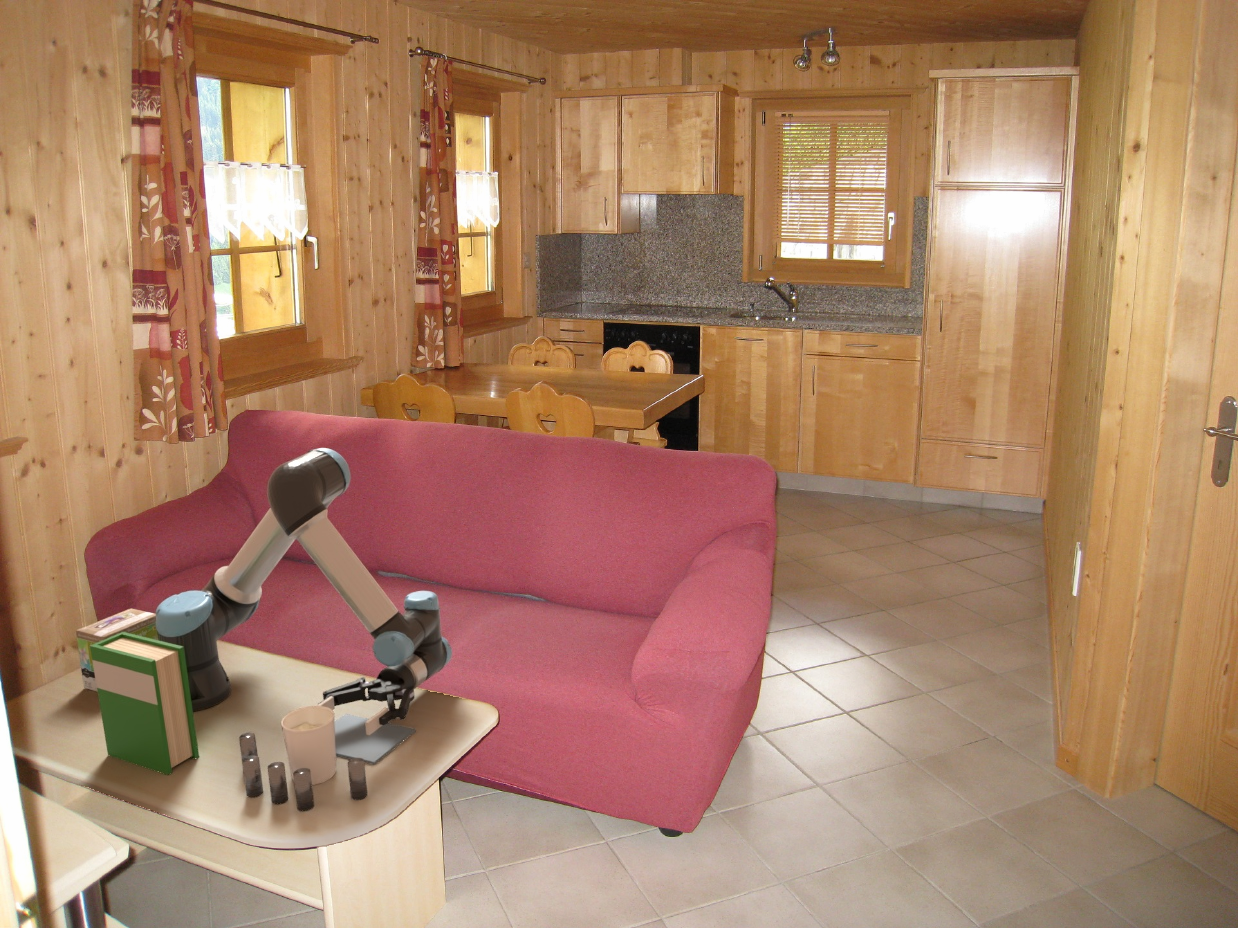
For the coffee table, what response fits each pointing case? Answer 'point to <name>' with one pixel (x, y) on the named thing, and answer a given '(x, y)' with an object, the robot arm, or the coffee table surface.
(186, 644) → the robot arm
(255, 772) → the spacer posts
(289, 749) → the candle holder
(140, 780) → the coffee table surface
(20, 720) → the coffee table surface
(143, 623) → the tea box
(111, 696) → the hardback book
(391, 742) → the mat
